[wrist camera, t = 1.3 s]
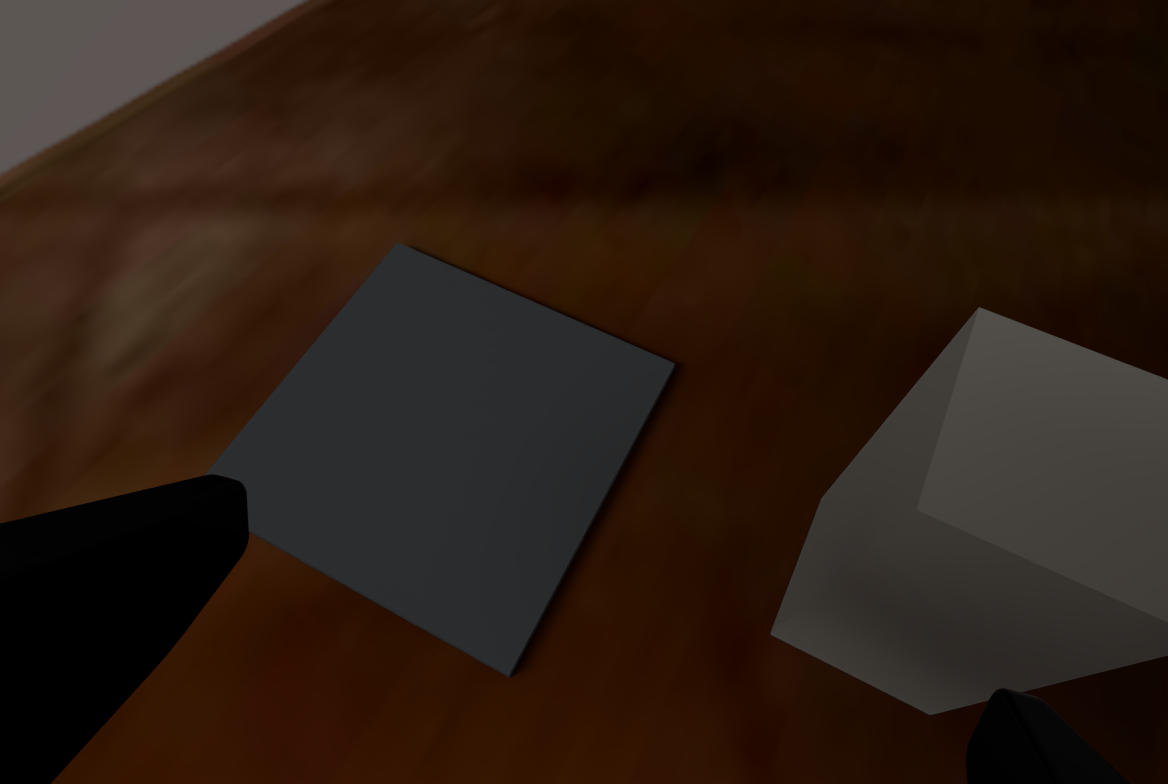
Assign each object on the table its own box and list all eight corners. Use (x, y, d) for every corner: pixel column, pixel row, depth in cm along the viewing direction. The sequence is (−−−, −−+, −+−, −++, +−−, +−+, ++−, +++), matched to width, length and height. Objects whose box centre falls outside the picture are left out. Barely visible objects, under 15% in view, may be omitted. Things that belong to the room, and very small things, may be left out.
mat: (510, 678, 22) (509, 675, 22) (194, 501, 25) (187, 495, 24) (673, 370, 27) (675, 363, 27) (400, 250, 30) (397, 242, 29)
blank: (929, 715, 22) (1214, 643, 12) (769, 634, 23) (916, 509, 13) (969, 566, 24) (1236, 406, 14) (821, 498, 25) (979, 307, 15)
